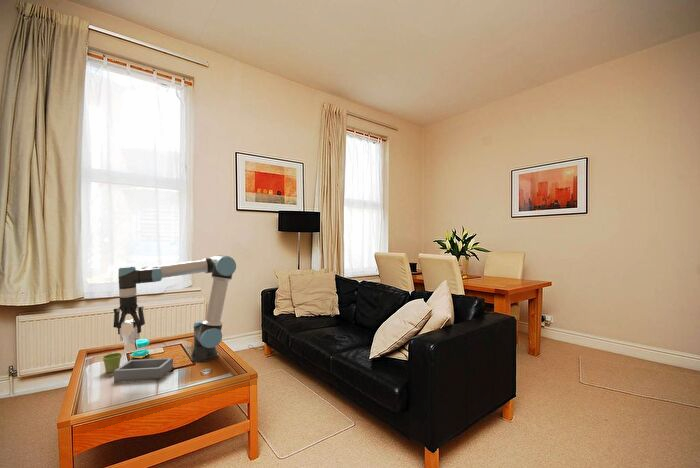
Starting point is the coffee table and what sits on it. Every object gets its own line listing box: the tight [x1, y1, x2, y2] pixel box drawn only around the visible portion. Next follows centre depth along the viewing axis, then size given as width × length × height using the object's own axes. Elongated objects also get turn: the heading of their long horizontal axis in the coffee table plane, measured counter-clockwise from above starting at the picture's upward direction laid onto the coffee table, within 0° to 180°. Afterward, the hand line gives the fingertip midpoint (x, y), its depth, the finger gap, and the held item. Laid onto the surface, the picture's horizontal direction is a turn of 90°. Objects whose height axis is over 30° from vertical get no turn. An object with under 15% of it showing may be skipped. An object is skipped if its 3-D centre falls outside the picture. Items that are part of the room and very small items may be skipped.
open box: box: [113, 357, 174, 383], centre depth 181 cm, size 23×15×6 cm, turn 96°
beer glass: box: [121, 319, 139, 353], centre depth 173 cm, size 7×7×15 cm
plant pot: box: [101, 352, 123, 374], centre depth 188 cm, size 9×9×9 cm
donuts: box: [130, 338, 151, 357], centre depth 211 cm, size 10×10×10 cm
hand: (130, 339), depth 173 cm, fingers closed on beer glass, 7 cm apart
